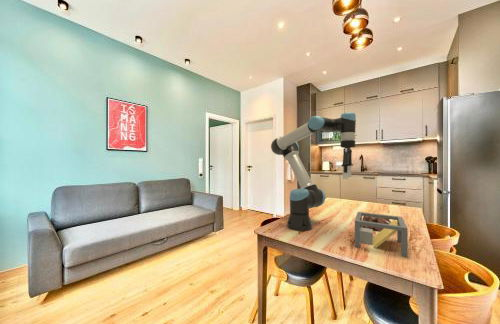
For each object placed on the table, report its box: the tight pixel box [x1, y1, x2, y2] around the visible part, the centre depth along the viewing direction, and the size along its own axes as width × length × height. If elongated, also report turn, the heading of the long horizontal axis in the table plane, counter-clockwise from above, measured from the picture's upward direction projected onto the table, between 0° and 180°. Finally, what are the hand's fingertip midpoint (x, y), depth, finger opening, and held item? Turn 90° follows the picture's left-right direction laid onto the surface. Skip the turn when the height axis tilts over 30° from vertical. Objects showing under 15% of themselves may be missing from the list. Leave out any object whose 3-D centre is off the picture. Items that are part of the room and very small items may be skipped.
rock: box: [362, 216, 392, 232], centre depth 119 cm, size 16×11×15 cm
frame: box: [354, 211, 409, 258], centre depth 98 cm, size 20×20×12 cm
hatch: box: [373, 220, 398, 249], centre depth 96 cm, size 14×14×1 cm
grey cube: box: [360, 227, 374, 246], centre depth 101 cm, size 6×6×6 cm
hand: (347, 177), depth 112 cm, fingers open, 13 cm apart
